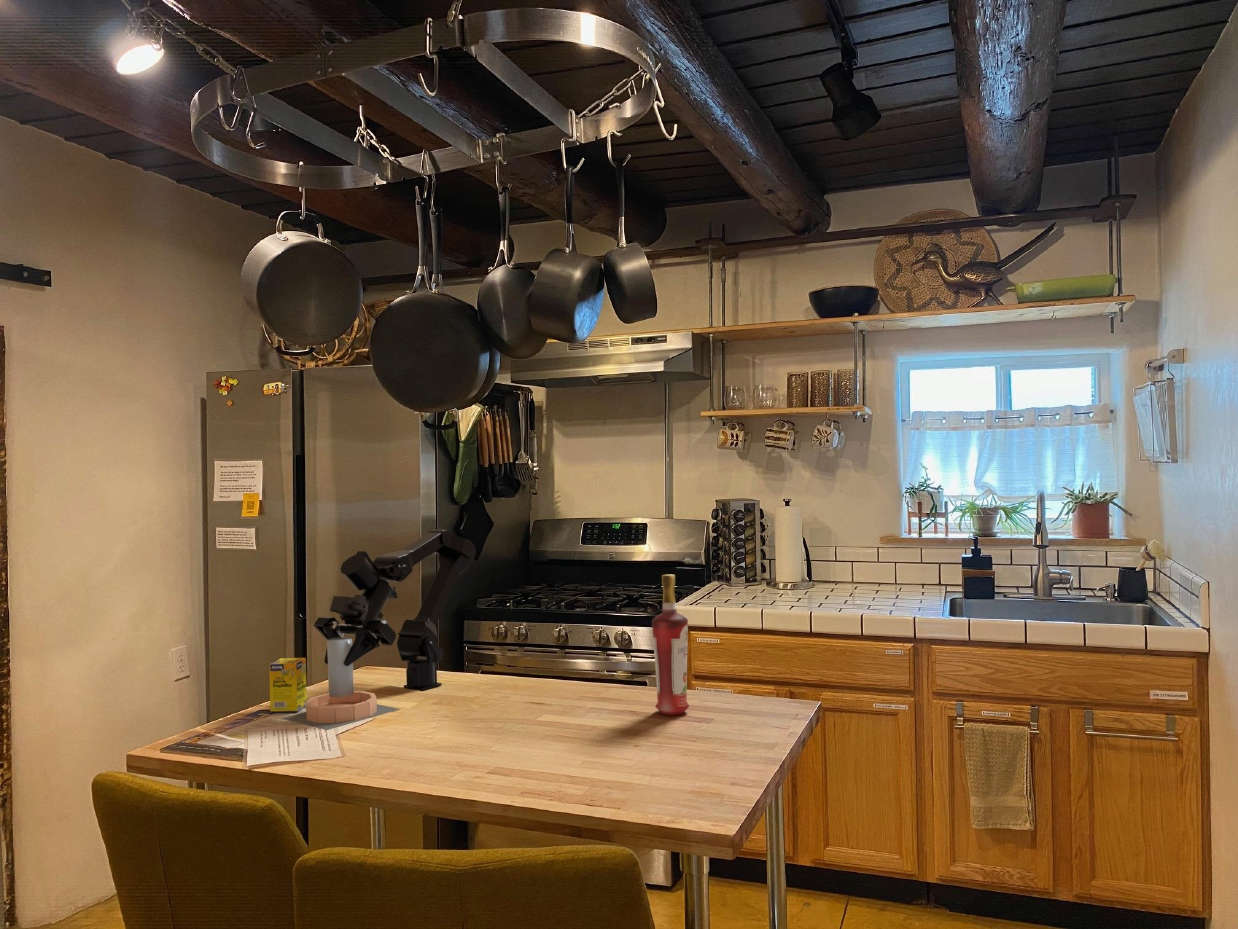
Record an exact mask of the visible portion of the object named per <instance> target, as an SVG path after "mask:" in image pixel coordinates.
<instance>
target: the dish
mask: <svg viewBox="0 0 1238 929" xmlns="http://www.w3.org/2000/svg"><path fill="white" fill-rule="evenodd" d="M377 700H378V699H377V696H376V694H375V693H374V692H369V691H364V690H354V694H352V695H350V696H345V697H330V696H329V692H328V693H325V694H320V695H317V696H316V695H315V696H313V697H311V698H309V699H307V701H305V708H304V709H305V712H306V719H307V720H308V721H312V722H316V723H339V722H347V721H354V720H358V719H362V718H365V717H369V716H371V715H372V714H374V713H375V712H377V704H378V703H377Z"/></svg>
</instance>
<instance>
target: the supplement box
mask: <svg viewBox="0 0 1238 929" xmlns="http://www.w3.org/2000/svg"><path fill="white" fill-rule="evenodd" d="M268 665H269V666H268V668H269V670H268V672H269V706H270V707H269V709H270V710H269V711H270V714H271V715H272V714H299V712H301V710H303V709H306V708H305V701H307V700H308V698H307V697H308V693H307V690H308V689H307V660H306V657H293V658H291V657H290V658H289V657H286V658H285V657H284V658H282V657H281V658H279V659H278V660H276V661H274V662H271V663H269V664H268Z"/></svg>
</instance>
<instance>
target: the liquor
mask: <svg viewBox="0 0 1238 929" xmlns="http://www.w3.org/2000/svg"><path fill="white" fill-rule="evenodd" d="M661 584H662V590H663V593H662V610H661V611H662V612H661V613H660V614H658V615H656V616H655V617H654V618H652V620H651V626H652V627H651V628H652V629H651V630H652V640H653V641H652V642H653V644H652V645H653V654H654V664H655V680H656V681H655V682H656V693H657V694H656V695H657V697H656V698H657V699H656V700H657V702H656V703H655V706H654V707H655V708H656V709H657V711H659V712H660V714H662V715H663V716H664V715H665V716H668V717H670V716H671V717H672V716H673V717H674V716H681V715H682V714H684V713H685V712H686V711H687V710H688V709H689V708H690V704H689V703H688V692H687V690H688V688H687V686H688V685H687V684H688V682H687V681H688V680H687V679H688V676H687V675H688V646H689V645H688V644H689V643H688V642H689V641H688V640H689V639H688V635H689V634H688V633H689V632H688V630H689V629H688V628H689V623H688V622H689V620H688V618H686V617H685V616H684V615H682V614H681V613H678V610H677V603H676V594H675V589H676V588H675V587H676V574H662V575H661Z"/></svg>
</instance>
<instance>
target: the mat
mask: <svg viewBox="0 0 1238 929" xmlns="http://www.w3.org/2000/svg"><path fill="white" fill-rule="evenodd" d="M399 710H401V709H400V708H398V707H397V708H396V707H392V706H388V705H383V704H379V703H377V712H375V713H374V714H372V715H371V716H369V717H365V718H362V719H358V720H354V721H347V722H339V723H316V722H312V721H308V720H307V719H306V711H304V712H300V713H299V712H298V713H294V714H292V715H288V716H284V717H281V718H280V719H283V720H287V721H288V722H289V721H290V722H295V723H297V724H302V725H306V726H310V727H312V728H313V727H314V728H317V729H322V730H325V731H330V730H333V729H335V728H339V727H342V726H346V725H350V724H354V723H357V722H361V721H364V720H367V719H371V718H376V717H378V716H382V715H385V714H389V713H392V712H397V711H399Z"/></svg>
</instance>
